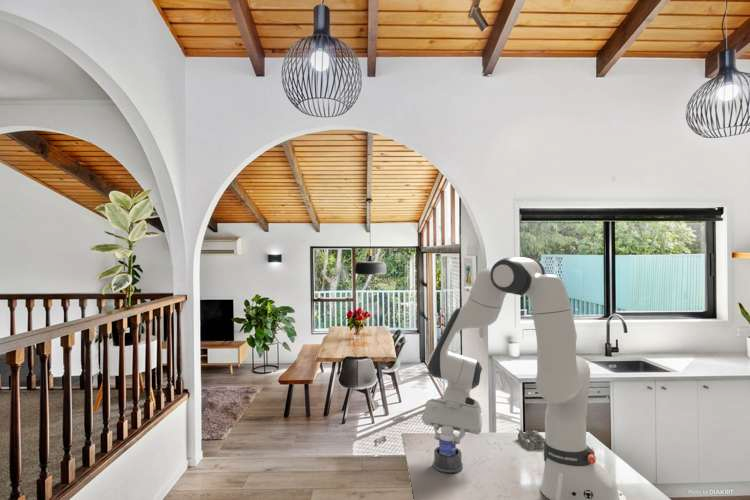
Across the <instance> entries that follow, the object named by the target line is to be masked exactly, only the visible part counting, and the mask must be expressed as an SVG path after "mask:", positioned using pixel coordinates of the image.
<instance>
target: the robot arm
mask: <svg viewBox="0 0 750 500" xmlns="http://www.w3.org/2000/svg"><path fill="white" fill-rule="evenodd" d="M507 294H512V295H513V294H514V295H518V296H523V295H524V296H526V297H527V298H528V300H529V303H530V308H531V313H532V320H533V324H534V325H533V326H534V330H535V331H534V332H535V336H536V350H537V351H536V358H537V359H536V366H537V367H536V368H537V372H536V377H535V387H536V390H537V392H538V394H539V395H540V397H541V398H543V400H545V401H547V404H546V409H545V413H544V436H545V437H544V439H545V440H544V444H543V449H542V450H543V460H544V468H543V476H542V479H541V484H540V487H539V488H540V489H539V490H540V492H541V493H542V494H543V495H544V497H546V498H547V499H549V500H627V497H626V495H625V494H624V493H623V492H622V491H621V490H619V489H618V486H617V482H616V480H615V478H614V476H613V475H612V473H610V471H609V470H606V469H605V468H604V467H603V466H602V465H601V464H599V463H598V462H597V457H596V455H595V451H594V447H593V446H591V447H590V446H589V445H587V412H588V404H589V393H590V379H591V368H590V366H589V364H588V363H587V361H586V360H585V359H584V358H583V357H580V356H579V355H577V338H578V337H577V336H578V335H577V330H576V325H575V324H576V323H575V320H574V315H573V310H572V305H571V304H572V303H571V301H570V297H569V293H568V292H567V288H566V286H565V283H564V281H563V279H562V278H561V277H560V276H558V275H555V274H550V273H546V271H545V268H544V265H543V264H542V263H541V262H540V261H538V260H537V259H535V258H533V257H524V256H522V257H521V256H513V257H505V258H502V259H499V260H498V261H496V262H495V263H494V264H493V266H492V267H491V268H484V269H482V270H480V271H479V273H478V274H477V275H476V277H475V280H474V281H473V284H472V286H471V290H470V293H469V296H468V297H467V298H468V299H467V300H466V302H465V303H464V305H463V306H461V307H458V308H456V309H455V310H453V313H452V314H451V316H450V318H449V320H448V321H447V324H446V325H445V327H444V329H443V331H442V333H441V336H440V337H439V339H438V341H437V343H436V346H435V348H434V349H433V350H432V351H431V352H430V354H429V356H428V359H427V361H426V362H427V364H426V366H427V367H426V368H427V370H428V372H429V374H430V375H431V376H432V377H433V378H438V379H442V380H446V381H447V386H446V388H445V391H444V394H443V398H442V399H435V398H430V399H428V400H427V401H426V402H425V405H424V406H425V408H424V410H423V412H422V415H421V420H422V422H423V423H424V425H426V426H429V427H433V430H434V432H435V434H434V440H436V441H439V435H440V433H441V432H439V430H440V429H441V427H442V426H451V427H453V431H456V432H457V431H458V432H459V434H458V435H457V436H456V435H455V439H454V442H455V443H456V444H457V445H460V443H461V440H462V439H463V438H464V437H465V435H466V433H467V434H468V433H469V434H474V435H479V434H480V433H481V432H482V428H483V419H482V415H481V413H482V408H481V405H480V403H479V401H478V400H477V399H475V398H473V397H471V394H470V393H471V390H473V389H476V388H477V387H478V386H479V384H480V381H481V373H482V370H483V367H482V365H481V363H480V362H479V361H478V360H477V359H475V358H472V357H469V356H466V355H462V354H460V353H456V352H453V351H450V350H449V347H450V346H451V343H452V342H453V339H454V338H455V336H456V334H457V333H458V332H460V331H461V330H465V329H479V328H485V327H488V326H490V325H492V324H494V323H495V322H497V319H498V318H499V315H500V313H501V310H502V307H503V304H504V301H505V300H504V299H505V297H506V295H507Z"/></svg>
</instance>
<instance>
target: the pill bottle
mask: <svg viewBox="0 0 750 500" xmlns="http://www.w3.org/2000/svg"><path fill="white" fill-rule="evenodd" d="M439 433H440V435H439V440H438V443H439V444H438V447H439V454H440V455H443V456H455V455H456V448H457V446H456V443H455V442H454V439H455V436H456V435H455V433H454V430H453V427H451V426H442V427H441V428H440V432H439Z"/></svg>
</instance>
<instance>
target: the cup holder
mask: <svg viewBox="0 0 750 500" xmlns="http://www.w3.org/2000/svg"><path fill="white" fill-rule="evenodd" d="M461 451H462V450H461V449H460V448H457V447H456V455H455V456H443V455H440V454H439V446H438V447H436V448H435V449H434V450H433V457H434V458H433V459H434V460H433V461H432V467H433V469H434V470H435V471H436V472H439V473H441V474H447V475H454V474H458V473H460V472H462V471H463V469H464V467H463V462H462V452H461Z"/></svg>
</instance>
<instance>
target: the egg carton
mask: <svg viewBox="0 0 750 500" xmlns="http://www.w3.org/2000/svg"><path fill="white" fill-rule="evenodd" d="M516 430H517V431H518V432H519V433H518V434H517V440H518V441H521V444H522V445H525V448H526V449H530V450H535V449H541V450H543V444H544V440H545V437H544V436H543V435H542V434H541V433H539V431H538V430H529V431H528V430H526V431H525V432H523V430H522V429H519V428H516ZM528 438H529V439H528Z"/></svg>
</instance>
